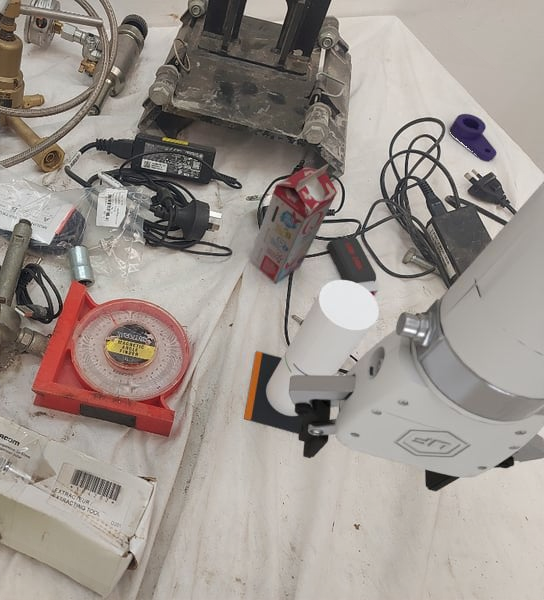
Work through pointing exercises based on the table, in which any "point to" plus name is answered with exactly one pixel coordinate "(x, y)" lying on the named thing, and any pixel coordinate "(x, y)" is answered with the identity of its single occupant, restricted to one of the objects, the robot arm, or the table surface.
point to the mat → (257, 398)
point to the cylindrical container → (324, 338)
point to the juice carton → (292, 222)
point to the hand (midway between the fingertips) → (368, 455)
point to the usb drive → (353, 263)
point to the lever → (473, 136)
